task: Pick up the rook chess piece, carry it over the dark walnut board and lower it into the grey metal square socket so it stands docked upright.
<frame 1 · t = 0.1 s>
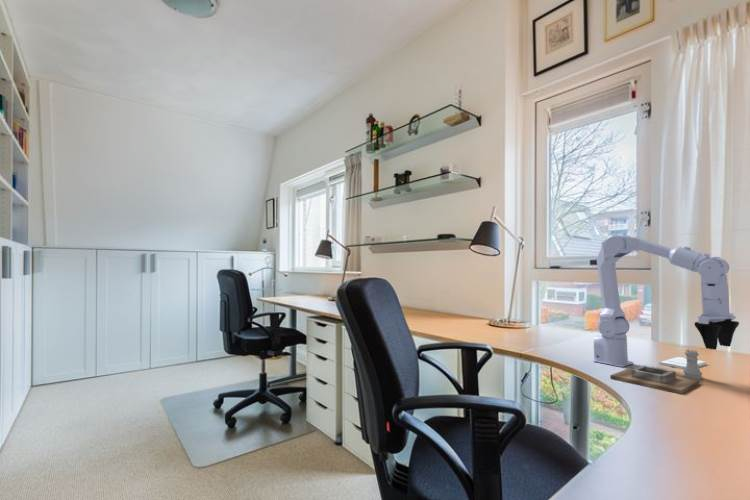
hand: (718, 347, 105), 10 cm above the table, fingers open, 7 cm apart
external hard drive: (682, 366, 123), on the table
rook chess piece: (693, 378, 109), on the table
socket board: (653, 381, 107), on the table
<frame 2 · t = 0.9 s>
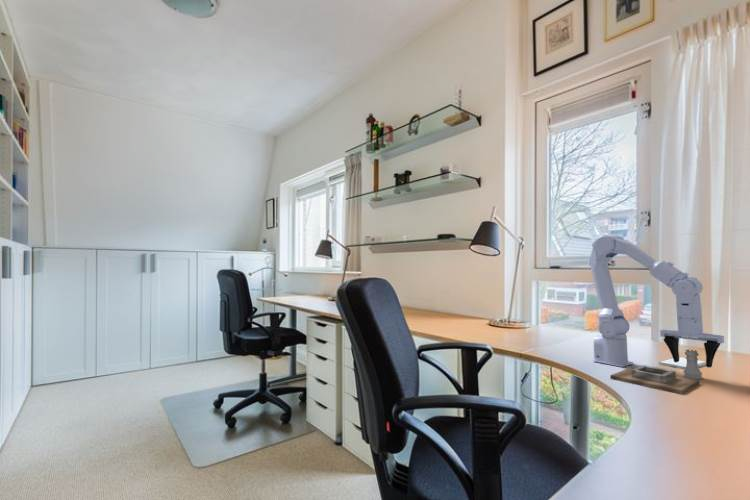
hand: (692, 364, 109), 4 cm above the table, fingers open, 7 cm apart
nothing on the table moved.
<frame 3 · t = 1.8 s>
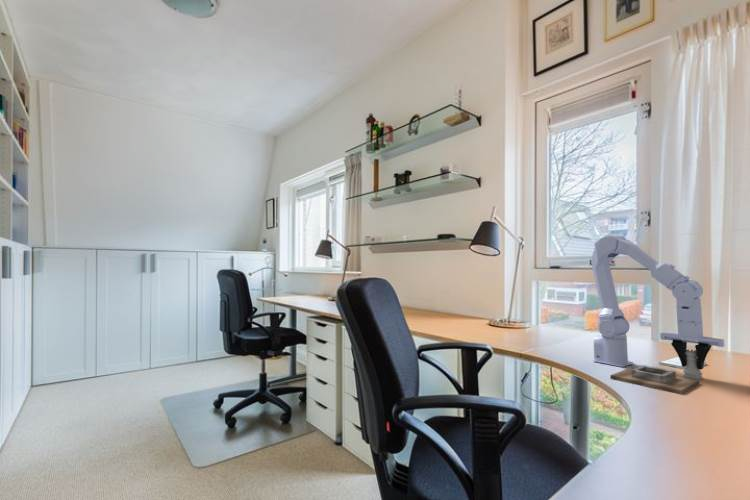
hand: (692, 367, 109), 3 cm above the table, fingers closed on rook chess piece, 3 cm apart
rook chess piece: (693, 378, 109), on the table, touching gripper
everything else where it was.
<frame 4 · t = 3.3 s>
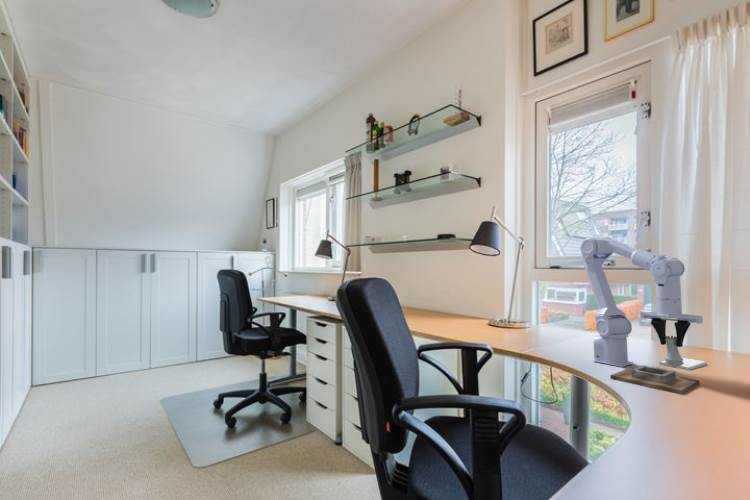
hand: (671, 345, 109), 10 cm above the table, fingers closed on rook chess piece, 3 cm apart
rook chess piece: (674, 364, 109), point 4 cm above the table, touching gripper
everything else where it was.
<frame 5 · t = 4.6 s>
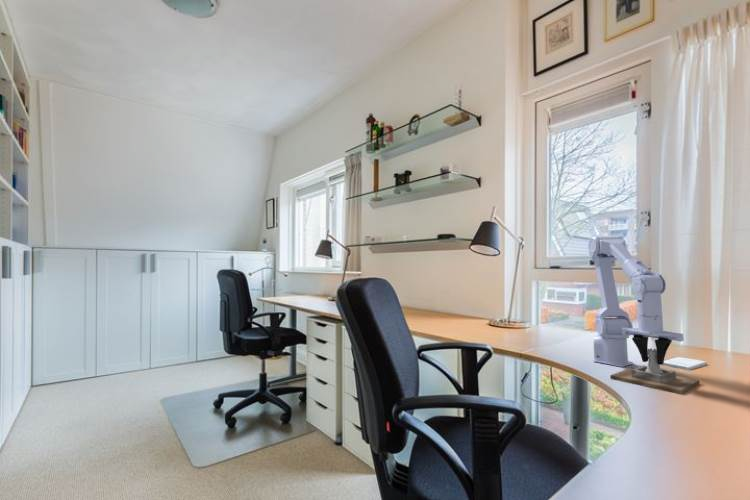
hand: (652, 362, 107), 5 cm above the table, fingers closed on rook chess piece, 3 cm apart
rook chess piece: (654, 377, 107), point 1 cm above the table, touching gripper, socket board
everything else where it was.
when the fingers open (5 cm above the table, at t = 5.0 s): rook chess piece stays where it is, resting on socket board.
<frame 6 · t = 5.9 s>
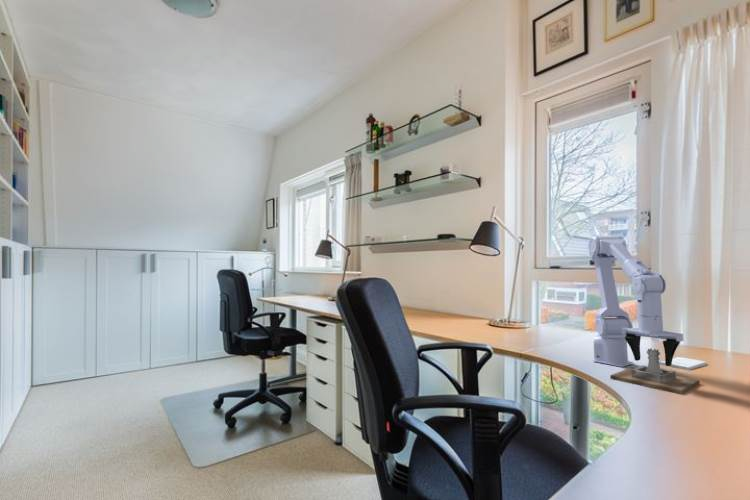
hand: (652, 362, 107), 5 cm above the table, fingers open, 7 cm apart
rook chess piece: (654, 377, 107), point 1 cm above the table, touching socket board
everything else where it was.
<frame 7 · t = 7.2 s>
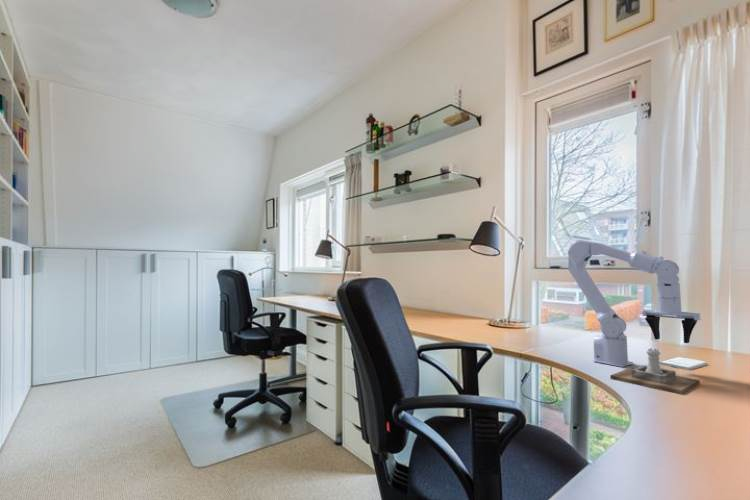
hand: (671, 340, 117), 9 cm above the table, fingers open, 7 cm apart
nothing on the table moved.
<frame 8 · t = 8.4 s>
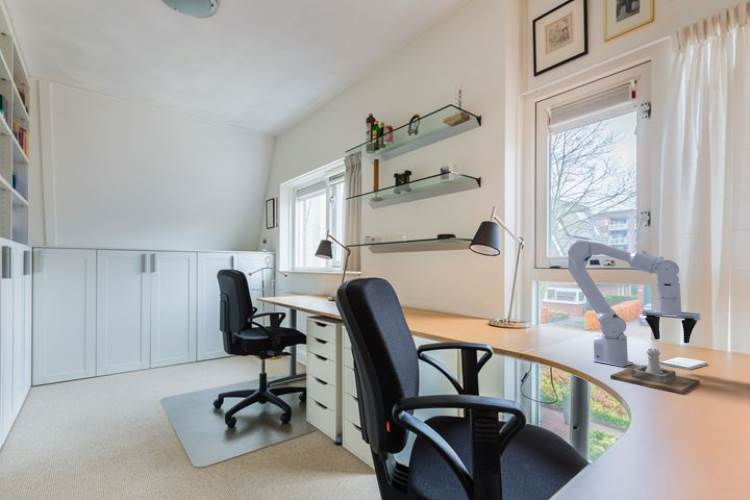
hand: (671, 340, 117), 9 cm above the table, fingers open, 7 cm apart
nothing on the table moved.
at the end: rook chess piece 0.6 cm off-centre on the socket board, point 0.8 cm above the socket board's base; rook chess piece tilted 0°; the gripper is holding nothing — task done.
